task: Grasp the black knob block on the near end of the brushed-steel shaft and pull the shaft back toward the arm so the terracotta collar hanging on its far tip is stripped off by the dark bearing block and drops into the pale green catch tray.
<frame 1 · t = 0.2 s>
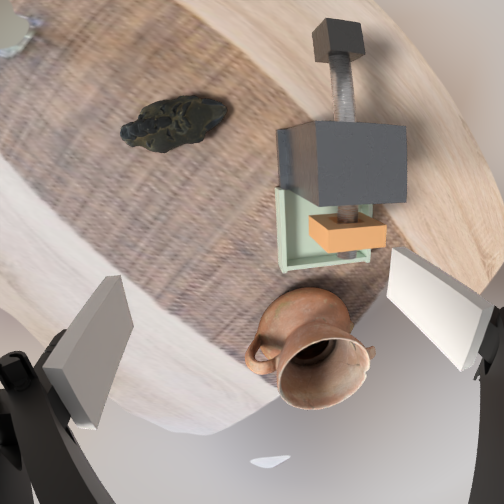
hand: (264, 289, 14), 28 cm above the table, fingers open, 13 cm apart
ceramic jug: (295, 320, 47), on the table
bearing block: (320, 158, 39), on the table
stone: (176, 123, 36), on the table
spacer: (345, 230, 34), point 8 cm above the table, touching shaft
catch tray: (322, 221, 42), on the table
shaft: (346, 138, 30), point 9 cm above the table, slide at 0.0 cm, touching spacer
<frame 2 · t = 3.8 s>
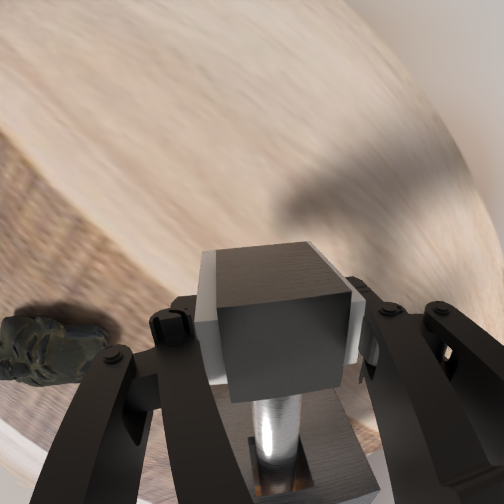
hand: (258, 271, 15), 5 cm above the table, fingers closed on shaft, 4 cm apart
bearing block: (259, 394, 25), on the table
stone: (50, 337, 21), on the table
shaft: (276, 463, 15), point 9 cm above the table, slide at 0.0 cm, touching gripper, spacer
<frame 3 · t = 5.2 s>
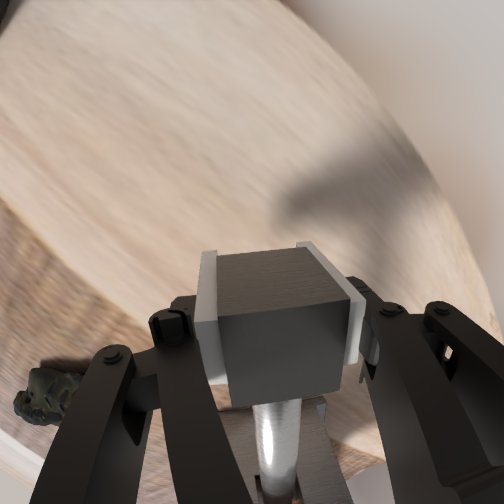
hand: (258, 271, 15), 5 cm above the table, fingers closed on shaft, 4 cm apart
bearing block: (263, 430, 27), on the table
stone: (76, 384, 23), on the table
shaft: (277, 463, 15), point 9 cm above the table, slide at 5.7 cm, touching gripper, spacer
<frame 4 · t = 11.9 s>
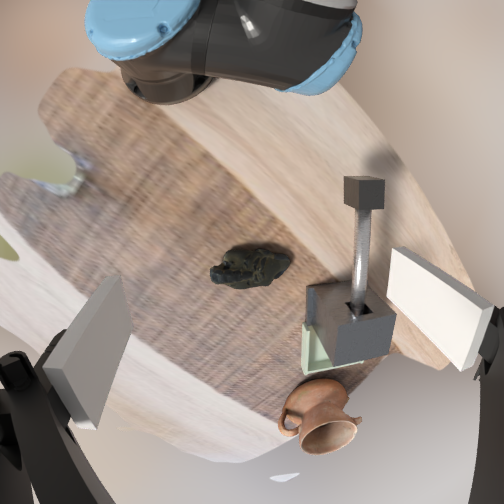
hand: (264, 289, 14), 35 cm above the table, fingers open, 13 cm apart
ceramic jug: (310, 394, 63), on the table
bearing block: (335, 301, 55), on the table
stone: (249, 263, 51), on the table
catch tray: (332, 339, 58), on the table
shaft: (360, 268, 43), point 9 cm above the table, slide at 7.9 cm
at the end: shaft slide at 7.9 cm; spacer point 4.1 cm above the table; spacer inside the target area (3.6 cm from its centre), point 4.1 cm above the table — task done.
